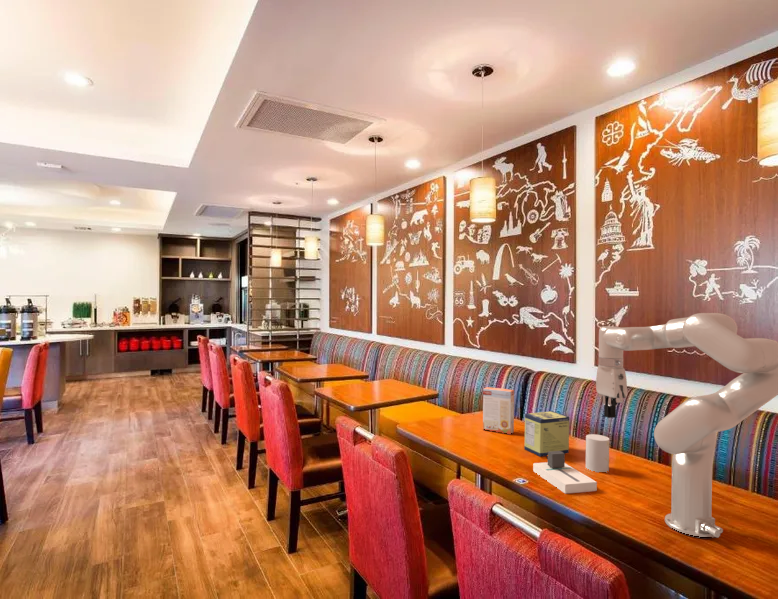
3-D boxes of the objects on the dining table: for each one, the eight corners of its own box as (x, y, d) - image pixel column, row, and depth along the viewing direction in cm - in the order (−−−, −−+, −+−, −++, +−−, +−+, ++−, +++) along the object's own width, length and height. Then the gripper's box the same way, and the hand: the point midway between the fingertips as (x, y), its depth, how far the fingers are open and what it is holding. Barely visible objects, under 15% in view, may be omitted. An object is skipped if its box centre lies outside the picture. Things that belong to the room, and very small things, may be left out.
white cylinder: (611, 473, 168) (611, 441, 168) (588, 471, 170) (588, 439, 170) (605, 465, 176) (606, 435, 176) (583, 464, 178) (583, 433, 178)
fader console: (596, 490, 152) (596, 481, 152) (565, 493, 150) (565, 484, 150) (561, 469, 172) (561, 460, 172) (533, 471, 169) (533, 462, 169)
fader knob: (564, 467, 164) (564, 453, 164) (552, 468, 163) (552, 454, 163) (559, 464, 167) (559, 450, 167) (547, 465, 166) (547, 451, 166)
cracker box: (514, 432, 220) (514, 389, 220) (510, 435, 215) (511, 391, 215) (486, 427, 228) (487, 386, 228) (482, 430, 223) (483, 388, 223)
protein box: (569, 453, 191) (570, 416, 191) (540, 457, 185) (540, 419, 185) (552, 445, 201) (552, 410, 201) (523, 449, 195) (524, 413, 195)
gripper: (636, 365, 146) (636, 422, 146) (605, 359, 161) (604, 411, 161) (616, 366, 144) (616, 423, 144) (586, 360, 159) (585, 412, 159)
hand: (609, 416), depth 152 cm, fingers closed
